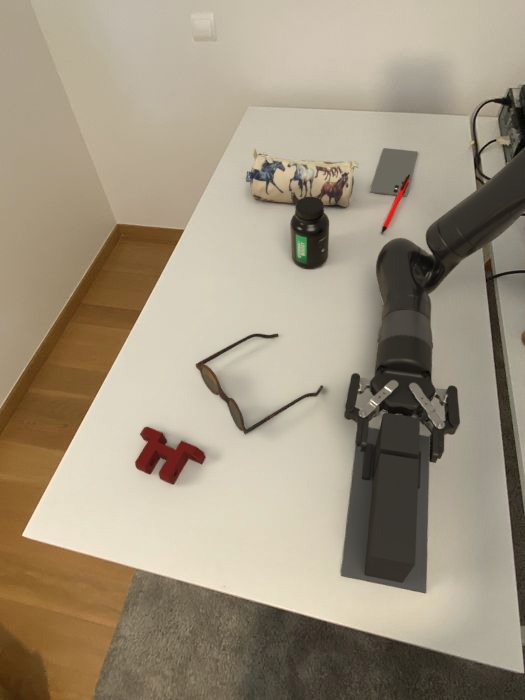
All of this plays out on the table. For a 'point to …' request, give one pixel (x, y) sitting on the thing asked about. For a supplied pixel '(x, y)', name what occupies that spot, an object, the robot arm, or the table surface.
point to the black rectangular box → (398, 437)
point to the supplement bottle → (309, 233)
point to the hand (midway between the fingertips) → (397, 454)
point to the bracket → (166, 455)
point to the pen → (395, 204)
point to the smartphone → (393, 171)
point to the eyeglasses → (234, 410)
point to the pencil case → (301, 180)
